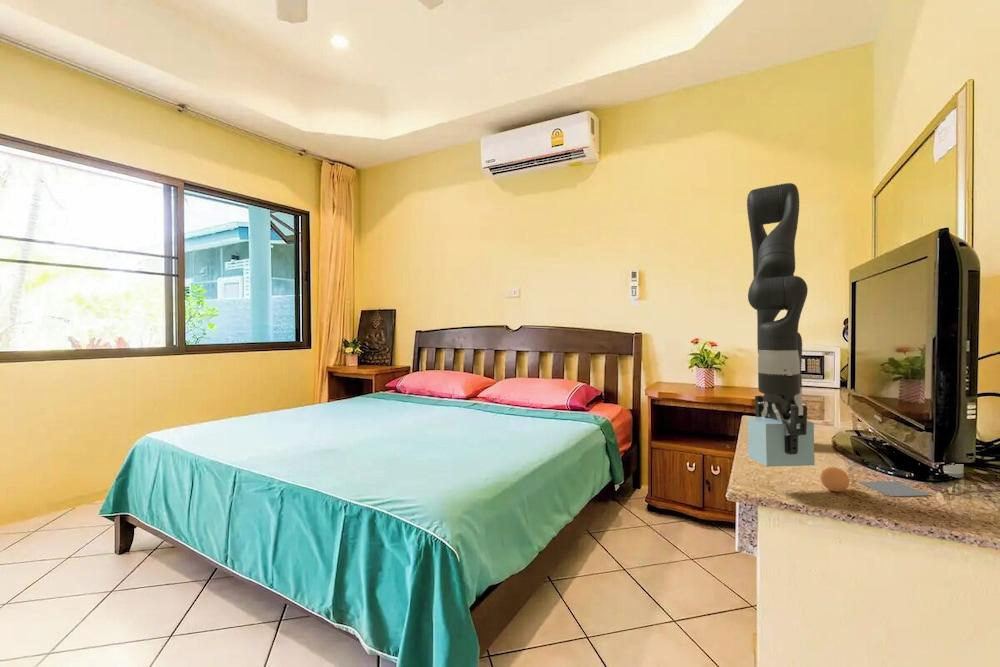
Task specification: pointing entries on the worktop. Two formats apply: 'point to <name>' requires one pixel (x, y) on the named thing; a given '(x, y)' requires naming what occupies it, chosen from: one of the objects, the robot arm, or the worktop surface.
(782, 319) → the robot arm
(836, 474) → the ball
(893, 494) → the plate
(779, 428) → the light blue block
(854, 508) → the worktop surface
